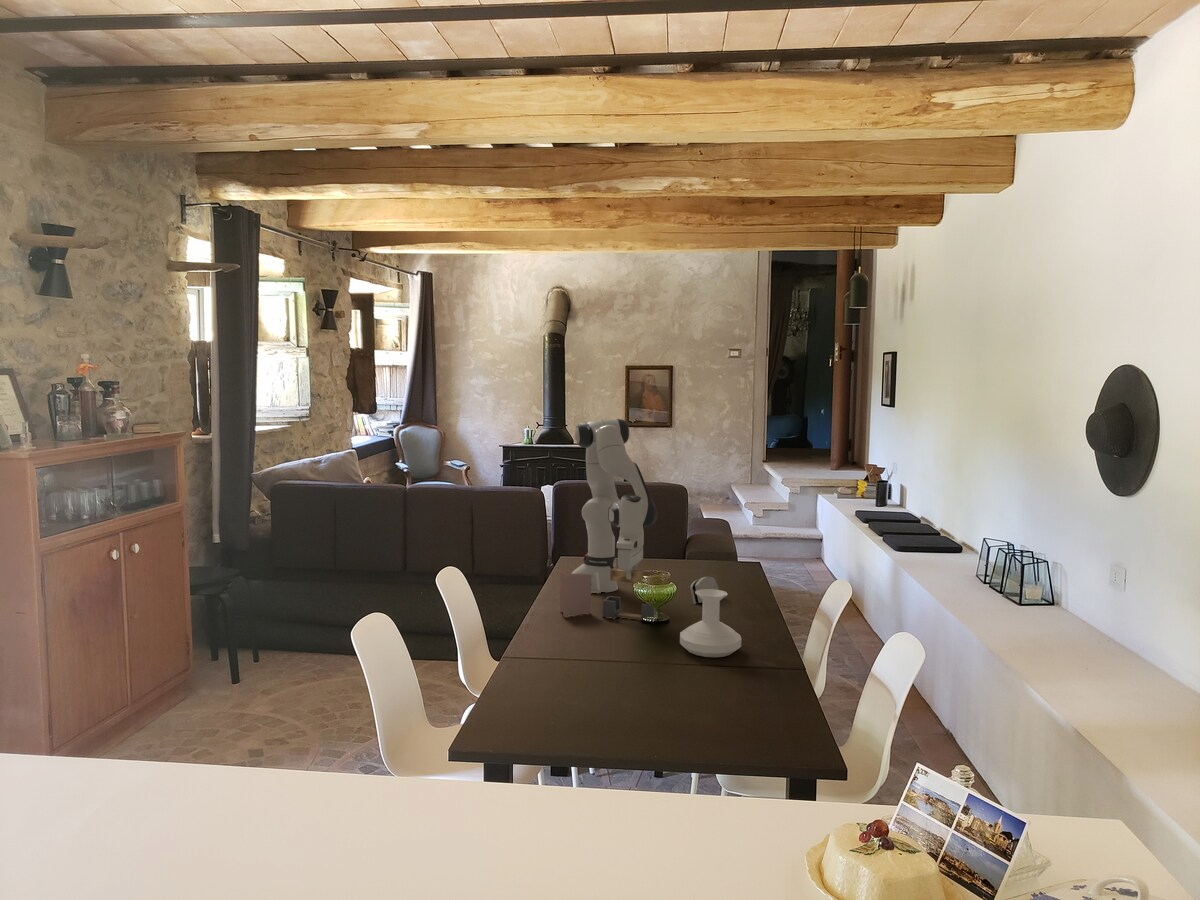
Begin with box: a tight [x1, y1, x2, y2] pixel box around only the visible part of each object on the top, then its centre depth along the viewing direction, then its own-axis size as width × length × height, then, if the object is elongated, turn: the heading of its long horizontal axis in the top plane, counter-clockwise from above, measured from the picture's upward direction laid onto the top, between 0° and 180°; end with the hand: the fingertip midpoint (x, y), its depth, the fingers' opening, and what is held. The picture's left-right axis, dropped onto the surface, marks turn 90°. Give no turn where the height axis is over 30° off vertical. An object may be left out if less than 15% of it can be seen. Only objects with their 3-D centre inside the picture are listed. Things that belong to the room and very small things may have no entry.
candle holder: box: [679, 589, 742, 658], centre depth 265 cm, size 20×20×19 cm
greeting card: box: [559, 572, 592, 617], centre depth 303 cm, size 11×7×15 cm, turn 84°
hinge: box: [689, 576, 720, 605], centre depth 328 cm, size 17×5×10 cm, turn 145°
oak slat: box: [610, 567, 653, 585], centre depth 300 cm, size 15×4×4 cm, turn 67°
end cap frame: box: [602, 595, 656, 620], centre depth 301 cm, size 19×7×6 cm, turn 71°
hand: (631, 577), depth 300 cm, fingers closed on oak slat, 4 cm apart
